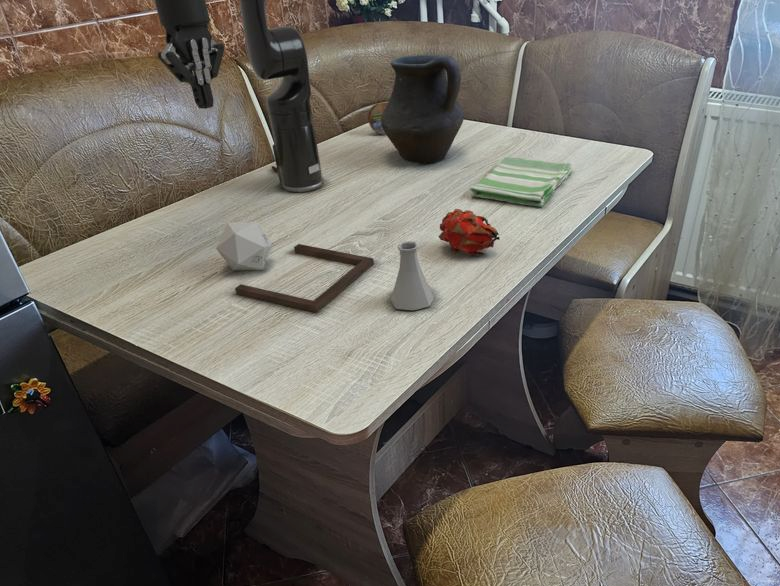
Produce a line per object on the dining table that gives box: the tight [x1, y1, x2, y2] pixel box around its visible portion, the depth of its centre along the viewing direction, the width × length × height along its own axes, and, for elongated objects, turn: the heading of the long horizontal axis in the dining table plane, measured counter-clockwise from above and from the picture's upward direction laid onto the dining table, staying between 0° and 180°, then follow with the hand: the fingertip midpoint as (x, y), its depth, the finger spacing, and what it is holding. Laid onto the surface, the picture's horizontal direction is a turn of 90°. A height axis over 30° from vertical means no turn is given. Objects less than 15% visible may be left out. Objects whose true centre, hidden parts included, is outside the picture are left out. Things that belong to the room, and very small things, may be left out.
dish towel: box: [469, 157, 573, 208], centre depth 144 cm, size 18×23×3 cm
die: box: [215, 221, 274, 271], centre depth 113 cm, size 8×9×10 cm
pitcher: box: [381, 54, 465, 164], centre depth 154 cm, size 21×22×25 cm
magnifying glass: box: [367, 101, 388, 136], centre depth 178 cm, size 15×3×8 cm, turn 118°
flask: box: [390, 240, 435, 311], centre depth 101 cm, size 7×7×10 cm
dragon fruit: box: [438, 208, 501, 257], centre depth 116 cm, size 8×8×12 cm
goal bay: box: [234, 243, 375, 314], centre depth 111 cm, size 16×18×1 cm
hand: (205, 107), depth 108 cm, fingers closed
